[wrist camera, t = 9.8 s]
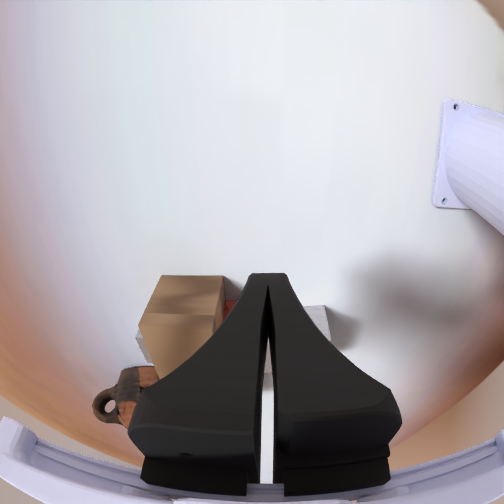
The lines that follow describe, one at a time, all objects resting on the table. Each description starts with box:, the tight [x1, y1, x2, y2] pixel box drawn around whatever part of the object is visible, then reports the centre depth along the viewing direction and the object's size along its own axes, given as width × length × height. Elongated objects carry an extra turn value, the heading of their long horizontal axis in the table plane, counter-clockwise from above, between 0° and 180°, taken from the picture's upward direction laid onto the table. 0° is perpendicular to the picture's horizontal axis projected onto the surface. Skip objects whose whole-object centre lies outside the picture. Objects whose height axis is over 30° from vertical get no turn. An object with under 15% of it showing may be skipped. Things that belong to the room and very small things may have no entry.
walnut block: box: [138, 276, 226, 379], centre depth 24 cm, size 5×12×6 cm, turn 2°
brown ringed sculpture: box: [92, 366, 159, 438], centre depth 31 cm, size 12×10×8 cm
